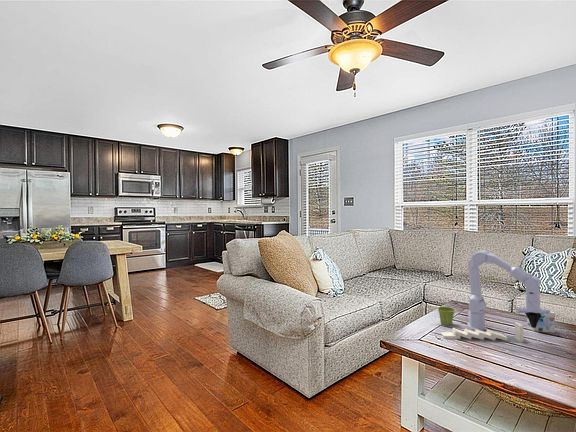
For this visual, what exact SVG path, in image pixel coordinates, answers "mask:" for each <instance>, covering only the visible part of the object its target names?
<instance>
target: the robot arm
mask: <svg viewBox="0 0 576 432" xmlns="http://www.w3.org/2000/svg"><path fill="white" fill-rule="evenodd" d="M483 263H486V264H494V265H496V266H498V267H499V268H502V269H503V270H505V271H507V272H508V273H509V275H510V276H511V277H512V278H513V279H515V280H516V281H518V282H520V283H521V284H523V285H524V287H525V307H517V308H516V309H515V310H516V311H515V312H516V313H517V314H521V313H522V314H525V316H526V317H528V319H529V322H530V325H531V327H532V328H536V326H537V323H538V321H539V319H540V318H541V314H540V313H548V314H550V311H551V309H548V308H543V307H542V308H541V292H540V289H541V283H542V280H541V279H540V278H539V277H538V276H536V275H533V274H532V273H528V272H527V271H525V270H523V268H522V267H519V266H512V265H511V264H510V263H508V262H507V261H505V260H503V259H502V258H501V257H499V256H498V255H496V254H494V253H493V252H490V251H489V250H487V249H483V250H480V251H476V252H474V253H473V254H472V255H471V257H470V259H469V261H468V263H467V270H468V280H469V287H470V288H469V289H470V297H469V299H468V300H469V301H468V302H469V303H468V310H469V311H468V313H467V318H468V319H467V321H468V322H466V325H467V326H468V327H469V328H471V329H472V331H473V330H474V331H475V329H478V330H481V331H487V329H488V328H487V327H486V316H485V315H486V314H485V313H486V312H485V309H486V307H487V303H486V302H485V300H484V299H485V298H484V296H483V294H482V288H481V279H480V268H479V267H481V266H482V264H483Z"/></svg>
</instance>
